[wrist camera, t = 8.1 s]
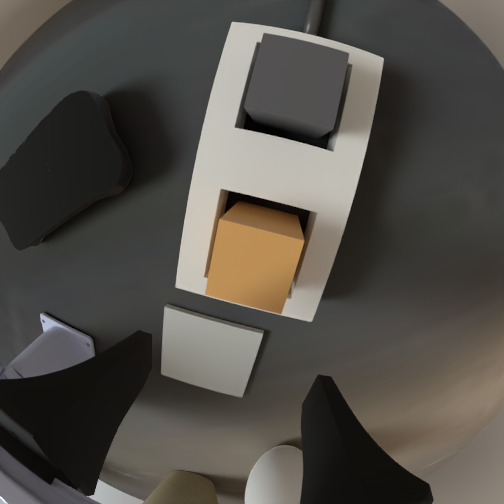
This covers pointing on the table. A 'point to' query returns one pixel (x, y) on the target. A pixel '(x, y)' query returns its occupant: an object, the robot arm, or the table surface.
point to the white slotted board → (278, 163)
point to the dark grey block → (296, 86)
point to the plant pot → (183, 490)
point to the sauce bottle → (276, 477)
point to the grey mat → (208, 350)
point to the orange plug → (255, 256)
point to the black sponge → (62, 169)
